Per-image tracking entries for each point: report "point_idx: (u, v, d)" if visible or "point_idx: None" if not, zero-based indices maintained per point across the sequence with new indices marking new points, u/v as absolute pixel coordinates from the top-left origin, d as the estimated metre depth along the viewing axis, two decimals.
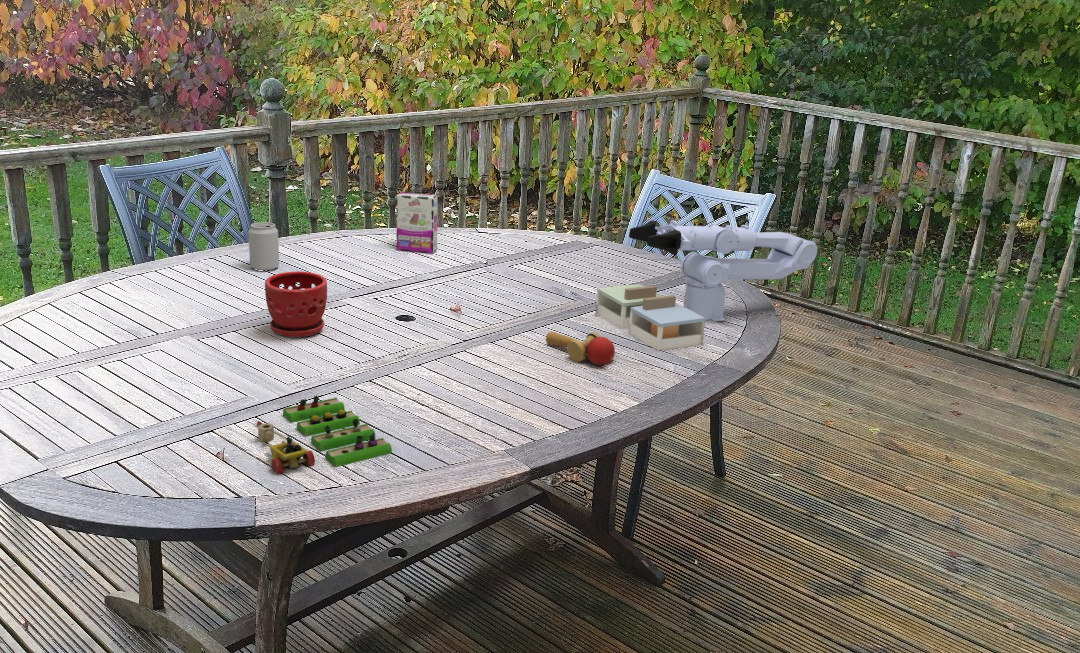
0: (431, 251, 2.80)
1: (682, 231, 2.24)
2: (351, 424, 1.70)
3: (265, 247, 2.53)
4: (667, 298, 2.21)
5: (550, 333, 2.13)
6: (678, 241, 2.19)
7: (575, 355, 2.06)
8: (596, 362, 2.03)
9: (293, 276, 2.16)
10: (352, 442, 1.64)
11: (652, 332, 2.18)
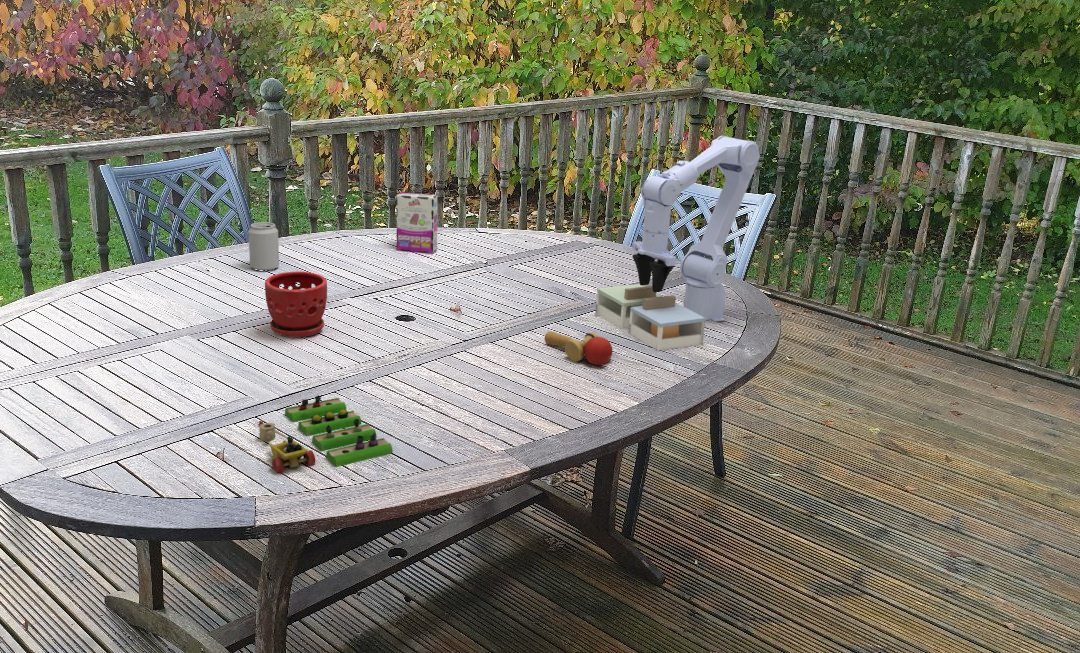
0: (431, 251, 2.80)
1: (652, 247, 2.17)
2: (352, 424, 1.70)
3: (265, 247, 2.53)
4: (667, 298, 2.21)
5: (549, 333, 2.14)
6: (663, 266, 2.16)
7: (573, 355, 2.06)
8: (593, 362, 2.03)
9: (293, 276, 2.16)
10: (353, 442, 1.64)
11: (652, 332, 2.18)
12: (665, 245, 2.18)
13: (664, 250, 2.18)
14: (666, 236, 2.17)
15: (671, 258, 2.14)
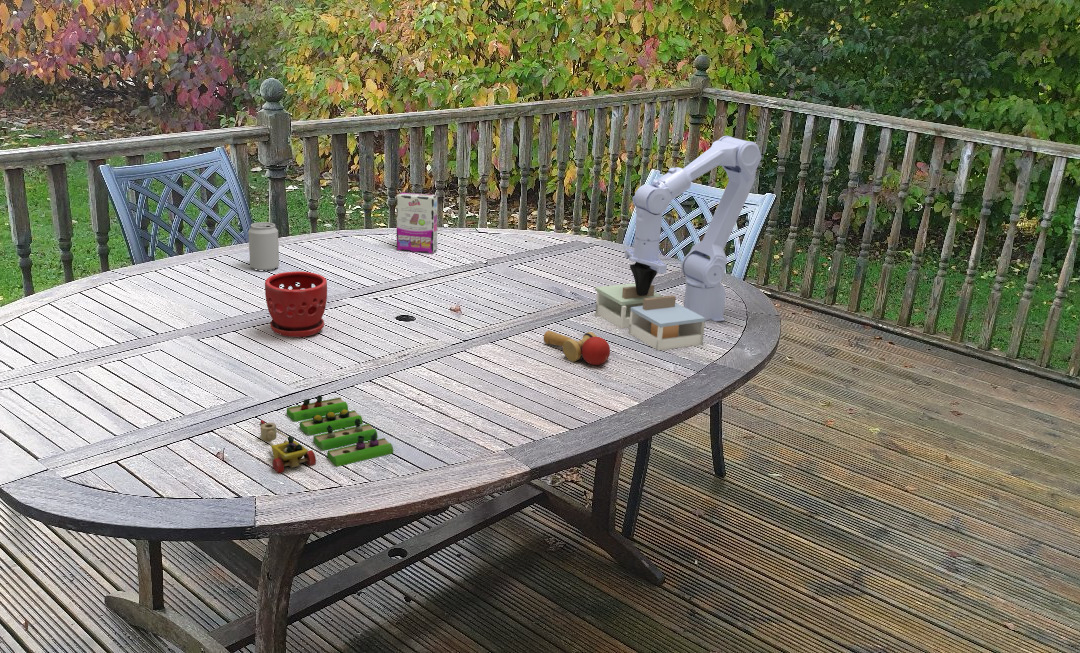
0: (431, 251, 2.80)
1: (643, 254, 2.21)
2: (354, 424, 1.70)
3: (265, 247, 2.53)
4: (667, 298, 2.21)
5: (548, 332, 2.14)
6: (648, 270, 2.22)
7: (571, 354, 2.06)
8: (591, 362, 2.03)
9: (293, 276, 2.16)
10: (354, 442, 1.64)
11: (652, 332, 2.18)
12: (656, 253, 2.21)
13: (655, 258, 2.22)
14: (657, 244, 2.21)
15: (662, 266, 2.17)
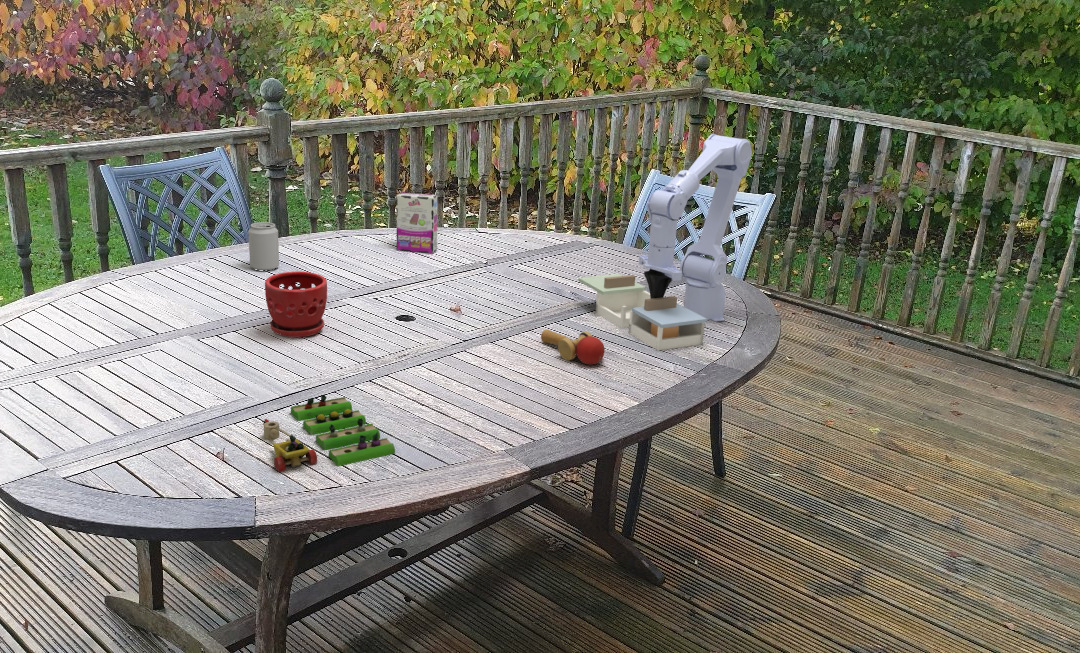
0: (431, 251, 2.80)
1: (658, 261, 2.16)
2: (357, 423, 1.71)
3: (265, 247, 2.53)
4: (668, 299, 2.20)
5: (545, 331, 2.14)
6: (663, 277, 2.17)
7: (566, 354, 2.07)
8: (585, 361, 2.03)
9: (294, 276, 2.16)
10: (356, 442, 1.64)
11: (652, 332, 2.18)
12: (671, 259, 2.16)
13: (670, 264, 2.17)
14: (672, 250, 2.16)
15: (677, 273, 2.12)
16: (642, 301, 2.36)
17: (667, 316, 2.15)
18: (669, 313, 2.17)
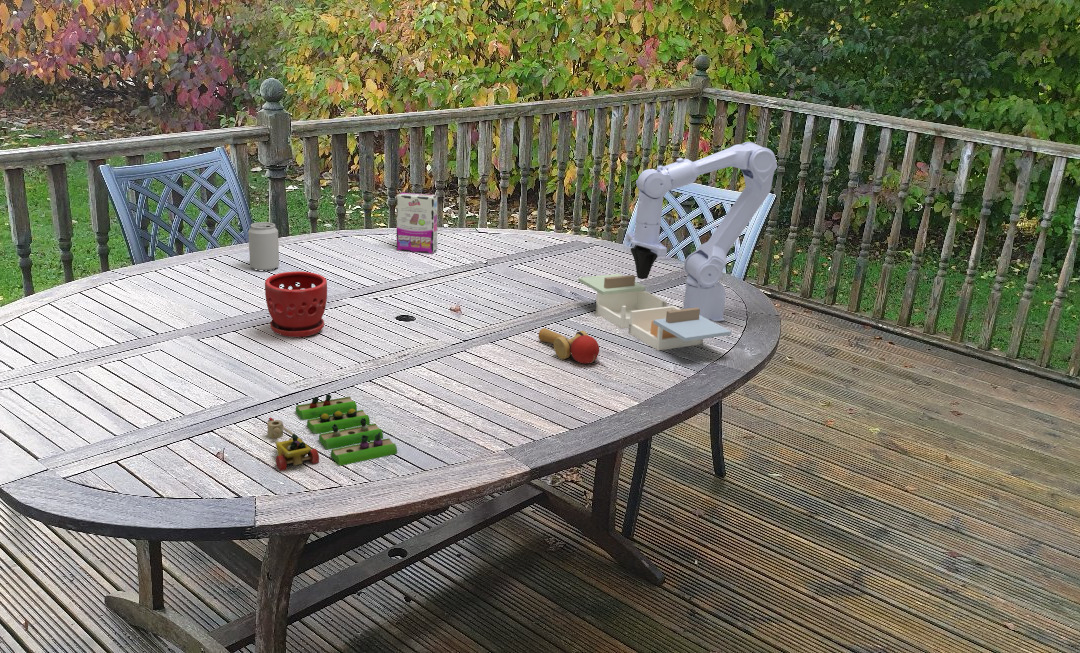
0: (431, 251, 2.80)
1: (644, 238, 2.25)
2: (361, 423, 1.71)
3: (265, 247, 2.53)
4: (691, 310, 2.13)
5: (543, 330, 2.15)
6: (649, 254, 2.26)
7: (561, 352, 2.07)
8: (579, 360, 2.03)
9: (293, 276, 2.16)
10: (359, 441, 1.64)
11: (652, 332, 2.18)
12: (657, 236, 2.25)
13: (656, 241, 2.26)
14: (658, 228, 2.25)
15: (662, 249, 2.21)
16: (642, 301, 2.36)
17: (690, 329, 2.08)
18: (692, 325, 2.10)
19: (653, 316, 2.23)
